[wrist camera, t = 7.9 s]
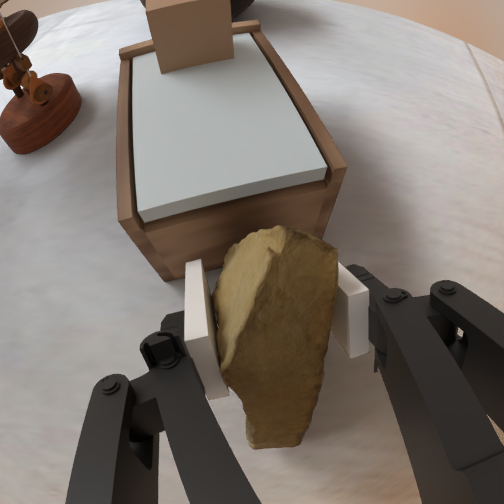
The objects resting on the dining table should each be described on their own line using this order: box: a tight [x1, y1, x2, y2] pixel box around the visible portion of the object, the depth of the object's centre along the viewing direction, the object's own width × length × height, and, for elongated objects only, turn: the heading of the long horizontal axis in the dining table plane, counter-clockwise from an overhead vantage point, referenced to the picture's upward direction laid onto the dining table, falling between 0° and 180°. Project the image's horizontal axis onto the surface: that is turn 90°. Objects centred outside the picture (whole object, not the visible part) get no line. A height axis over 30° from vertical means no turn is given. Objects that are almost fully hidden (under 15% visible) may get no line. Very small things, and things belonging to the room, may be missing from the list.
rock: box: [211, 225, 339, 449], centre depth 15 cm, size 11×9×10 cm
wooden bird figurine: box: [0, 0, 81, 154], centre depth 21 cm, size 15×11×20 cm
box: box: [116, 20, 347, 282], centre depth 21 cm, size 11×16×9 cm
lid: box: [132, 0, 327, 223], centre depth 15 cm, size 9×15×6 cm, turn 15°
